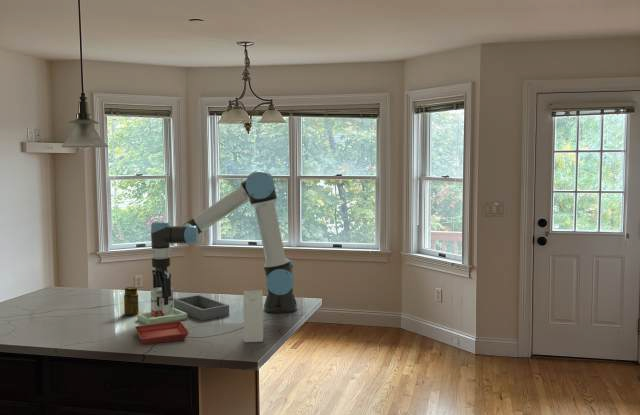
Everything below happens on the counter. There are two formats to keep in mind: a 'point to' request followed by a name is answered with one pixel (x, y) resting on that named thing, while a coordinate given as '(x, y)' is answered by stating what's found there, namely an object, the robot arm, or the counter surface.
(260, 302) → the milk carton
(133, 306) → the condiment
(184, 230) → the robot arm
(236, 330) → the counter surface
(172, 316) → the tray
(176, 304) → the tray
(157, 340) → the plant saucer
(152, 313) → the ink box
